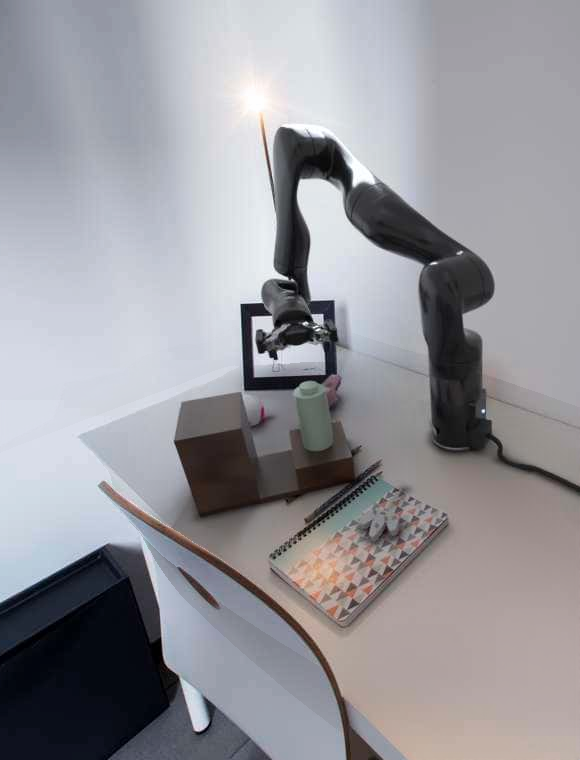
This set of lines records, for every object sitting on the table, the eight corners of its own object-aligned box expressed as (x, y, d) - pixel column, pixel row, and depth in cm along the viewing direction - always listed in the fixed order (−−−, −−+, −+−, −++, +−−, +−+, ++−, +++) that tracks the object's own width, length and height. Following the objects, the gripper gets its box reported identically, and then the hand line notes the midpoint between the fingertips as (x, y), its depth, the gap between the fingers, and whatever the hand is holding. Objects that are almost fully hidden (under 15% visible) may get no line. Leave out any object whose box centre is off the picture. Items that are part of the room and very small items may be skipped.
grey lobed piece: (358, 542, 75) (355, 528, 74) (368, 491, 85) (366, 478, 84) (397, 541, 75) (396, 527, 74) (404, 490, 85) (402, 477, 84)
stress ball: (266, 443, 104) (281, 415, 102) (225, 432, 99) (240, 403, 97) (261, 423, 110) (275, 396, 108) (222, 412, 105) (236, 384, 103)
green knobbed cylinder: (339, 437, 90) (330, 380, 84) (323, 453, 86) (312, 394, 80) (315, 432, 91) (304, 375, 86) (297, 448, 87) (285, 389, 82)
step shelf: (344, 443, 97) (333, 375, 90) (356, 481, 87) (345, 408, 80) (204, 472, 90) (181, 401, 84) (199, 517, 81) (173, 441, 74)
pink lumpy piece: (327, 422, 106) (339, 395, 103) (306, 414, 106) (316, 386, 102) (337, 398, 115) (348, 372, 112) (317, 390, 114) (327, 364, 111)
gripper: (250, 306, 100) (252, 337, 87) (326, 296, 104) (339, 324, 91) (259, 343, 104) (262, 377, 91) (331, 332, 108) (344, 363, 95)
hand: (300, 351), depth 91 cm, fingers open, 8 cm apart
